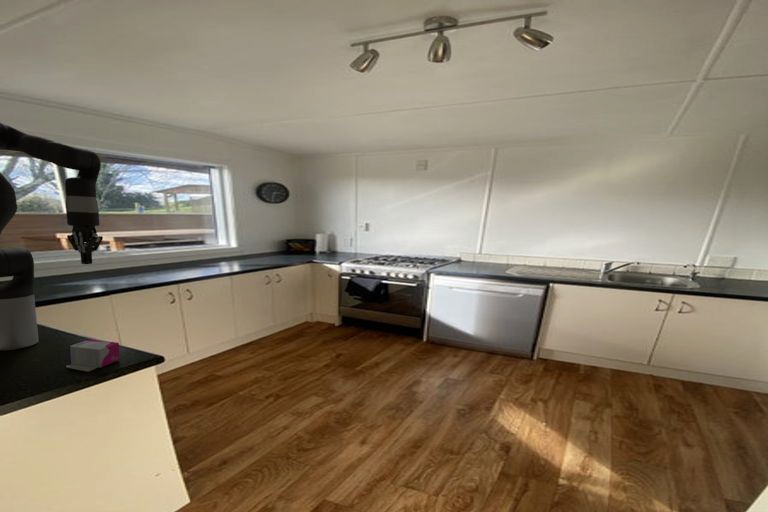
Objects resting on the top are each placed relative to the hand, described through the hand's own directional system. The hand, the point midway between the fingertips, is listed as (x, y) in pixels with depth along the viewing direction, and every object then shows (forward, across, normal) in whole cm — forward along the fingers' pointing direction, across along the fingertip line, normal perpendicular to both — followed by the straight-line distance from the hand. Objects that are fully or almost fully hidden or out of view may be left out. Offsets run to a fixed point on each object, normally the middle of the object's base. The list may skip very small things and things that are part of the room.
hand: (87, 263), depth 101 cm
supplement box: (+26, +7, -8) cm, 28 cm away
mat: (+29, +12, -8) cm, 33 cm away
